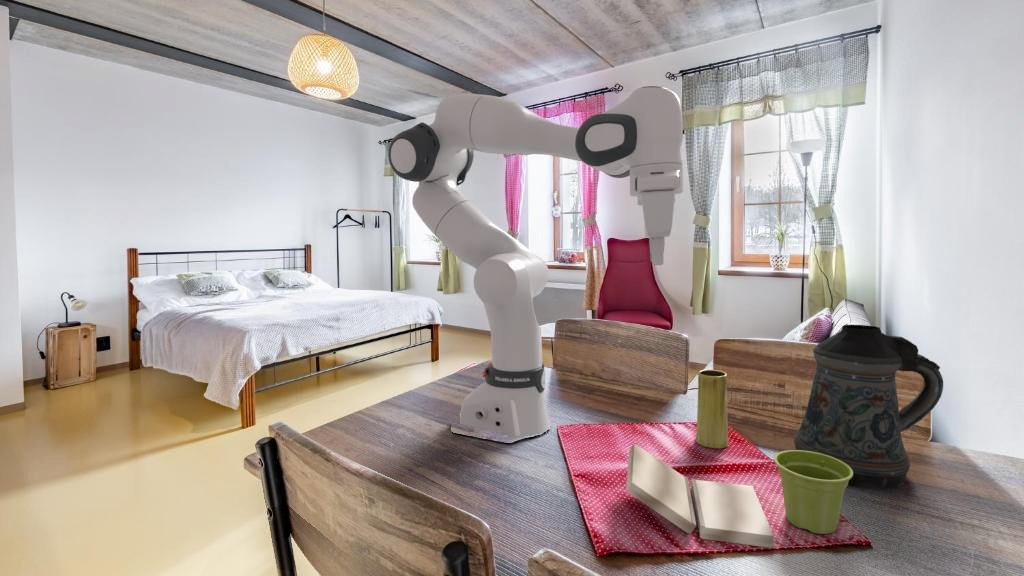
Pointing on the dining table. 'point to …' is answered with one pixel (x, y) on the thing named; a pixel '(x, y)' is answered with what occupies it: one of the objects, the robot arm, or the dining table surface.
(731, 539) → the board
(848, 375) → the beer stein
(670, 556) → the dining table surface
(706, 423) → the vase
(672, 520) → the loose plank
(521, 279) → the robot arm
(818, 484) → the plant pot
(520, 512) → the dining table surface
